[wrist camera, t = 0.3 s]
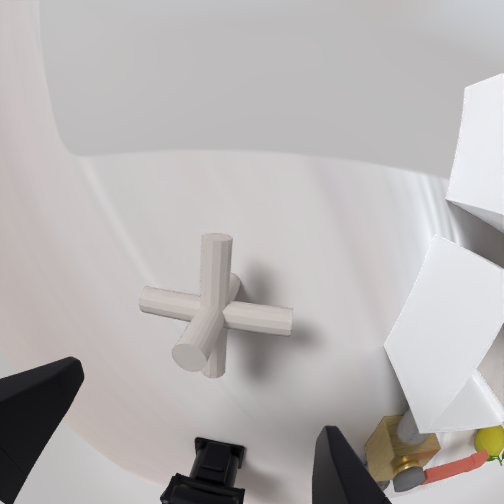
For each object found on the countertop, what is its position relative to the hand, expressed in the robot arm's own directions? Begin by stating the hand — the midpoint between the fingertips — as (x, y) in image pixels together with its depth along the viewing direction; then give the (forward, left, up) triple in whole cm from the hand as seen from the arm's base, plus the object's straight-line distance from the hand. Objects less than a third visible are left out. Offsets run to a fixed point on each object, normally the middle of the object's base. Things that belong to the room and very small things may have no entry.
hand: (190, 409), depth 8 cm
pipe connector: (-2, +1, -15) cm, 15 cm away
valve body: (-20, -21, -14) cm, 32 cm away
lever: (-20, -26, -7) cm, 33 cm away
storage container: (+5, -21, -15) cm, 26 cm away
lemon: (-23, -41, -15) cm, 49 cm away
